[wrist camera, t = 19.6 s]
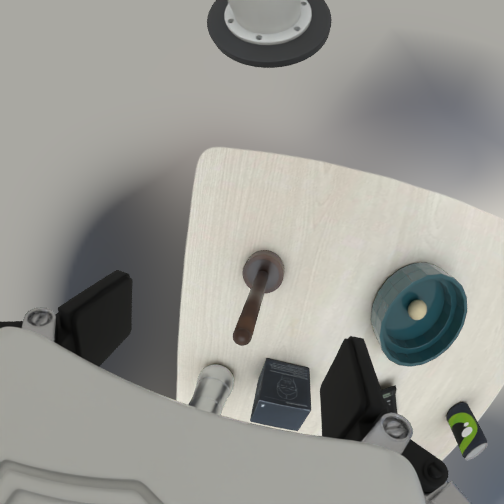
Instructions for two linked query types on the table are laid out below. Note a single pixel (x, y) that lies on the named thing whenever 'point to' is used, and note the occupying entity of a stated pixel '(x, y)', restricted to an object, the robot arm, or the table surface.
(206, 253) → the table surface
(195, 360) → the table surface
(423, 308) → the ball
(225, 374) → the plastic bottle
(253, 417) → the box
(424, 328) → the bowl
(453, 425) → the beverage can
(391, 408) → the calculator
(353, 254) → the table surface
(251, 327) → the brown plunger
